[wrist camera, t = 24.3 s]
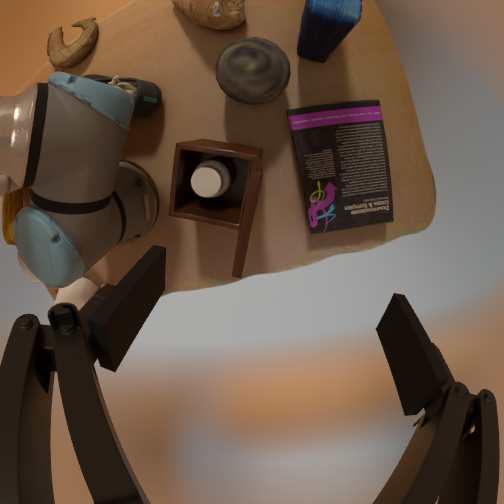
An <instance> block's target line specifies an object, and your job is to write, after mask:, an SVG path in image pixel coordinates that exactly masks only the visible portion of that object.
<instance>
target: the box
mask: <svg viewBox="0 0 504 504" xmlns="http://www.w3.org/2000/svg"><path fill="white" fill-rule="evenodd" d="M287 116H288V120H289V124H290V129H291V133H292V138H293V142H294V147H295V151H296V156H297V161H298V166H299V171H300V176H301V181H302V186H303V191H304V197H305V202H306V208H307V214H308V220H309V226H310V232H311V235H317V234H320V233H326V232H332V231H339V230H345V229H351V228H357V227H363V226H369V225H375V224H382V223H391V222H393V221H394V219H393V201H392V187H391V175H390V166H389V158H388V150H387V143H386V136H385V130H384V124H383V118H382V113H381V107H380V102H379V100H378V99H373V100H362V101H351V102H341V103H332V104H324V105H317V106H310V107H303V108H297V109H288V110H287Z"/></svg>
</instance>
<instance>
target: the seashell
mask: <svg viewBox="0 0 504 504" xmlns="http://www.w3.org/2000/svg"><path fill="white" fill-rule="evenodd" d="M172 3H173V4H174V5H175V6H176V7H177V8H178V9H179V10H181V11H182V13H183V14H184V15H186V16H188V18H189V19H190V20H191V21H192V22H193V23H194V24H196V25H203V26H205V27H209V28H211V29H217V30H220V29H221V30H223V29H231V28H235V27H237V26H238V25H240V24H241V23H242V22H243V21H244V19H245V16H244V13H243V9H244V0H172Z"/></svg>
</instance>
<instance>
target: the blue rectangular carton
mask: <svg viewBox="0 0 504 504" xmlns="http://www.w3.org/2000/svg"><path fill="white" fill-rule="evenodd" d="M361 2H362V0H306V3H305V8H304V12H303V15H302V20H301V29H300V34H299V40H298V47H297V54H298V55H299V56H300V57H303V58H307V59H310V60H313V61H318V62H321V63H324V62H325V61H326V60H327V59H328V57H329V56H330V55H331V54H332V52H333V51H334V50H335V49H336V47H337V46H338V45H339V44H340V43H341V41H342V40H343V39H344V38H345V37H346V35H347V34H348V33H349V32H350V31H351V30H352V29H353V27H354V26H355V25H356V24H357V23H358V22H359V21H360V19H361V12H362V4H361Z"/></svg>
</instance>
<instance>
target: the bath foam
mask: <svg viewBox="0 0 504 504" xmlns="http://www.w3.org/2000/svg"><path fill="white" fill-rule="evenodd" d="M24 187H25V186H24ZM20 188H22V187H18V185H17V184H16V183H15V182H14V181H13V180H12V179H11V177H10V176H8V175H6V174H5V175H0V196H4V195H6V194H8V193H10V192H13V191H15V190H17V189H20Z"/></svg>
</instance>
